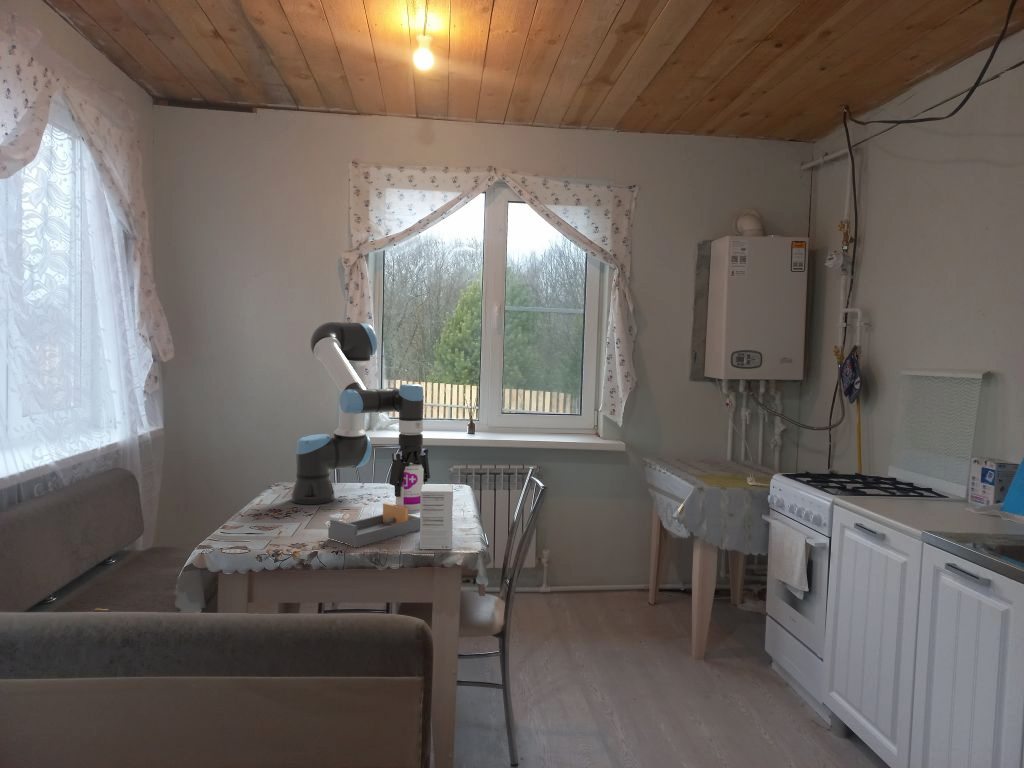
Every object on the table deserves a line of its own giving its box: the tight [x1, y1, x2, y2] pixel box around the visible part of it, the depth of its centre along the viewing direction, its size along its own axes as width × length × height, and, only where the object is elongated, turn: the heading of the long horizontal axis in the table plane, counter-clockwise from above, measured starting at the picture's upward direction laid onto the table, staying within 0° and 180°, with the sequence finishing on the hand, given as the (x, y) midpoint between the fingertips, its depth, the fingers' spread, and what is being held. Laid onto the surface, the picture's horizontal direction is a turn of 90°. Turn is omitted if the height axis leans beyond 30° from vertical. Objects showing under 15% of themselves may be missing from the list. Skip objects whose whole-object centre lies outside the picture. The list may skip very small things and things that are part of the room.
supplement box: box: [419, 483, 454, 550], centre depth 196 cm, size 10×9×17 cm
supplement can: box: [398, 463, 424, 515], centre depth 216 cm, size 8×8×15 cm
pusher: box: [382, 502, 409, 525], centre depth 210 cm, size 10×4×6 cm, turn 53°
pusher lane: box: [327, 513, 420, 548], centre depth 206 cm, size 12×26×6 cm, turn 143°
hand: (409, 504), depth 216 cm, fingers closed on supplement can, 8 cm apart
